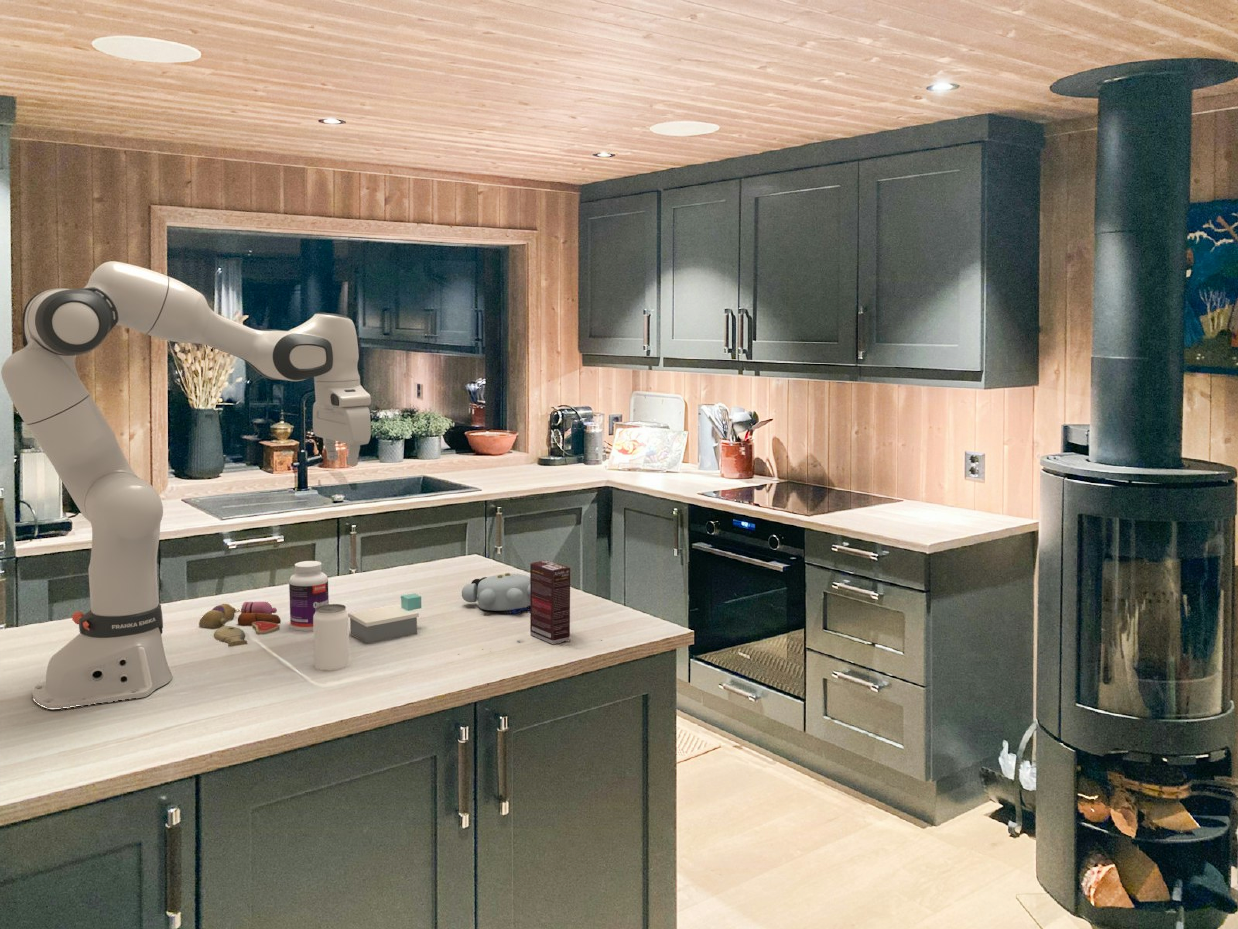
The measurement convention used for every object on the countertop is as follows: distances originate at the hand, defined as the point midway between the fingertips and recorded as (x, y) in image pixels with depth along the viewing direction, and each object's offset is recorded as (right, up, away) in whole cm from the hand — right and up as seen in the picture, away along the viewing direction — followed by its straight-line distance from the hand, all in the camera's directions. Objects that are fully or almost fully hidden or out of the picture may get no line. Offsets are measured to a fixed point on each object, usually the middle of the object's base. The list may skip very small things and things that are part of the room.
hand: (342, 462), depth 205 cm
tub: (+6, -37, +9) cm, 38 cm away
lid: (+7, -33, +9) cm, 35 cm away
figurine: (+28, -34, +34) cm, 56 cm away
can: (+1, -40, -10) cm, 41 cm away
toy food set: (-26, -36, +16) cm, 47 cm away
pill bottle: (-11, -36, +14) cm, 40 cm away
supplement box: (+41, -37, +10) cm, 57 cm away
